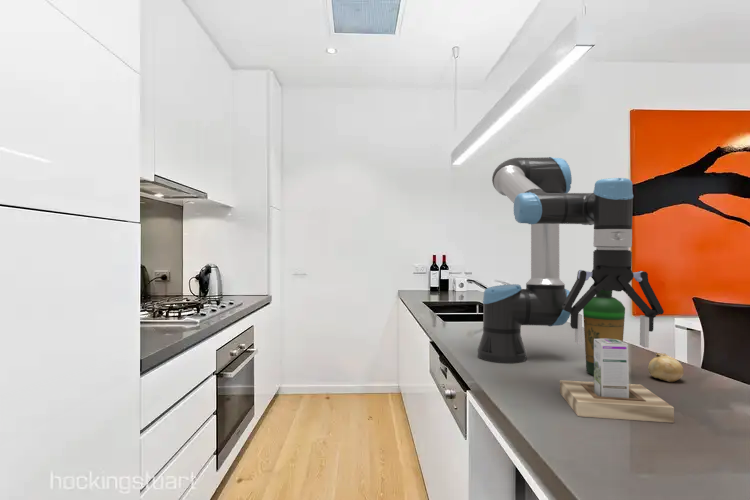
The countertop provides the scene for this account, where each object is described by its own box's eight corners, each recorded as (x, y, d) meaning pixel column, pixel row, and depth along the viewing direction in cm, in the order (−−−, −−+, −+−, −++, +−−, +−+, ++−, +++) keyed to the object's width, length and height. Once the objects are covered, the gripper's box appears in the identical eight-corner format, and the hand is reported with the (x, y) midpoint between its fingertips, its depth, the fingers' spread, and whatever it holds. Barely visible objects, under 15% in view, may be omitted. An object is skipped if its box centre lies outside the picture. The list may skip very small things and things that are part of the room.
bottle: (584, 377, 122) (585, 274, 122) (580, 368, 132) (580, 273, 132) (629, 381, 119) (629, 275, 119) (621, 371, 129) (621, 273, 129)
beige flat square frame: (559, 392, 108) (559, 379, 108) (640, 397, 105) (640, 383, 105) (578, 416, 93) (578, 400, 93) (673, 422, 90) (673, 406, 90)
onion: (680, 378, 123) (680, 352, 123) (686, 385, 116) (686, 358, 116) (646, 374, 126) (646, 349, 126) (650, 381, 119) (650, 354, 119)
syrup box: (630, 411, 96) (630, 343, 96) (600, 409, 97) (600, 342, 97) (620, 403, 101) (621, 338, 101) (592, 401, 102) (592, 337, 102)
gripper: (556, 248, 98) (555, 345, 98) (683, 249, 93) (681, 351, 94) (549, 248, 105) (548, 338, 105) (666, 249, 101) (664, 343, 101)
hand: (610, 344), depth 100 cm, fingers open, 13 cm apart
